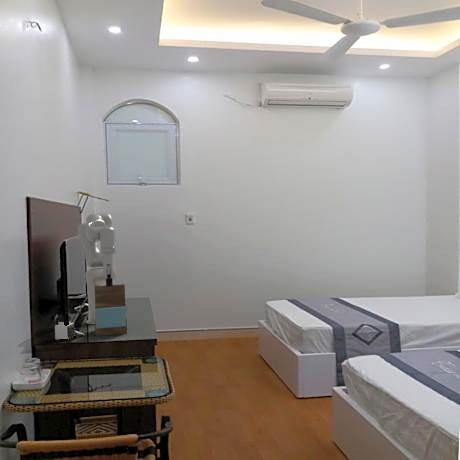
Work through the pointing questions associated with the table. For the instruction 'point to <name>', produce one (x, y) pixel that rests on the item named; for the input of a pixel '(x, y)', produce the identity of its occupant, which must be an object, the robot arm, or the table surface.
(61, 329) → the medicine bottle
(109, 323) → the panel
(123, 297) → the striped wooden block
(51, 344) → the table surface
